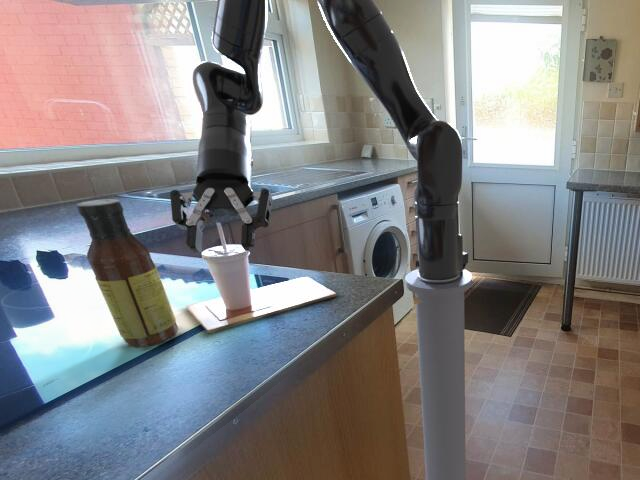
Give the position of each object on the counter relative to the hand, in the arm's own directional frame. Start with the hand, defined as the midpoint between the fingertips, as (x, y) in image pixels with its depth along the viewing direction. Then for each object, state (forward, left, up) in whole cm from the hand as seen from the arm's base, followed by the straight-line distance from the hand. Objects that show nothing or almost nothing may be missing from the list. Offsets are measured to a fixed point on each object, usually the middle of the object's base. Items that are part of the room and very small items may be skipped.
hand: (221, 249), depth 63 cm
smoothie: (-1, -2, -10) cm, 11 cm away
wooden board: (-5, -1, -11) cm, 12 cm away
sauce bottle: (+11, +1, -11) cm, 16 cm away
